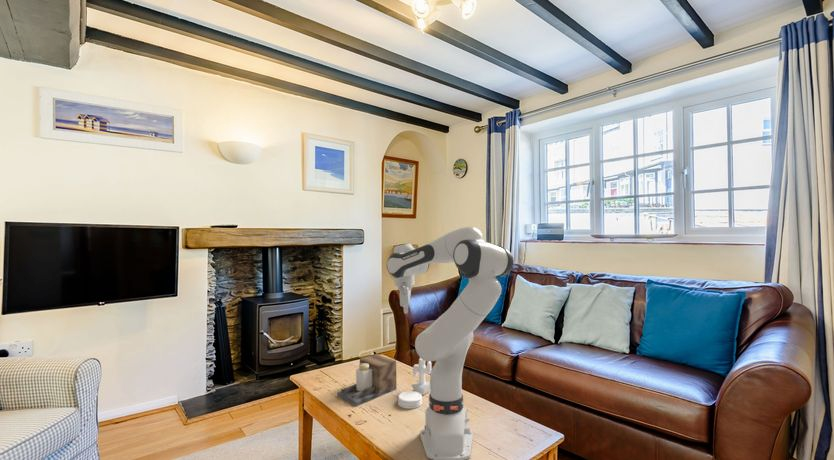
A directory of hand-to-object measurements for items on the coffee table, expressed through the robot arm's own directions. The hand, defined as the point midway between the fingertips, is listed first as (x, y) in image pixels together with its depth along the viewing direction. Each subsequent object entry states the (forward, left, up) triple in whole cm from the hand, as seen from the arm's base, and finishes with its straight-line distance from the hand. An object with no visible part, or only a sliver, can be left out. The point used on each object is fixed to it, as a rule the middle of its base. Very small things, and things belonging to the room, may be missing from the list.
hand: (406, 312), depth 163 cm
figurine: (+5, -7, -37) cm, 38 cm away
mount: (+5, +17, -37) cm, 41 cm away
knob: (+3, +19, -35) cm, 40 cm away
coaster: (-6, -2, -37) cm, 37 cm away
